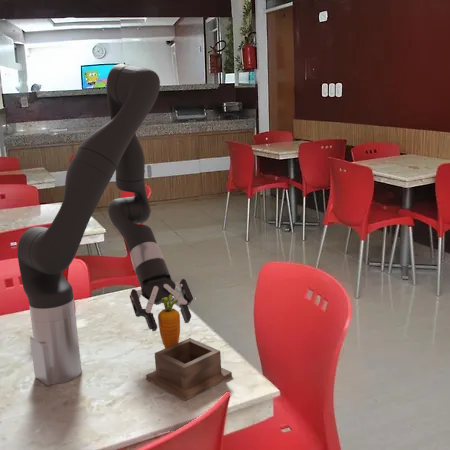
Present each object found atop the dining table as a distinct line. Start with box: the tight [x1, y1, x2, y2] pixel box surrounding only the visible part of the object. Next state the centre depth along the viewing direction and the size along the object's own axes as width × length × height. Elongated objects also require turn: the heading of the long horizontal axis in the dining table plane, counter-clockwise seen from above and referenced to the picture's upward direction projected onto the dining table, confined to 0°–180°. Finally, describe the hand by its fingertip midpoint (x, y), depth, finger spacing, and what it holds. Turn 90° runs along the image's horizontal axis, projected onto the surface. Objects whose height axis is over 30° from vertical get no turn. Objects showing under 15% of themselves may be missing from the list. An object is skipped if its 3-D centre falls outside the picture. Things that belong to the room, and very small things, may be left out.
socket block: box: [145, 337, 233, 402], centre depth 117 cm, size 13×13×6 cm
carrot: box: [157, 295, 181, 349], centre depth 126 cm, size 5×5×15 cm
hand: (171, 325), depth 125 cm, fingers open, 7 cm apart
